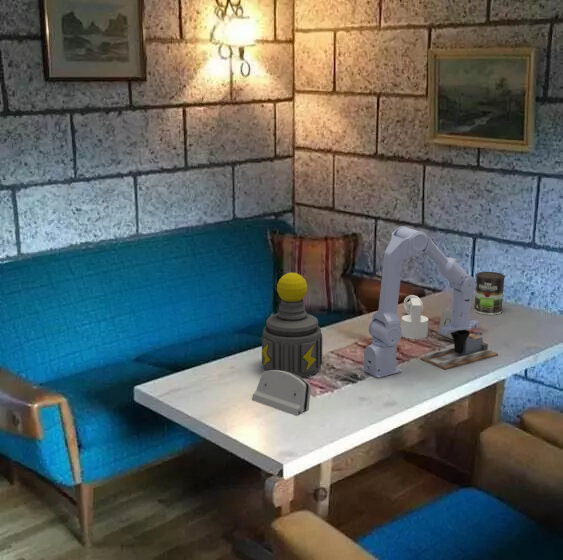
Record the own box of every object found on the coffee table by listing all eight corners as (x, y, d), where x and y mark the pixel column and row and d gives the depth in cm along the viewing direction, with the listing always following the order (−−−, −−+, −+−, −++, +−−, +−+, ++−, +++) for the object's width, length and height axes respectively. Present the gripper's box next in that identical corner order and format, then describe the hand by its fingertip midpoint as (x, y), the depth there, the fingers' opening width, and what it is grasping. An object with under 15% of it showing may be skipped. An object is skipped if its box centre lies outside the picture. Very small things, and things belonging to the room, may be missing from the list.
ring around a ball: (400, 315, 291) (401, 294, 289) (408, 311, 295) (409, 291, 293) (420, 319, 286) (421, 298, 284) (427, 315, 290) (428, 294, 288)
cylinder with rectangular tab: (400, 330, 274) (401, 297, 270) (426, 331, 273) (428, 298, 270) (401, 339, 265) (403, 305, 262) (428, 339, 264) (430, 305, 261)
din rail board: (444, 369, 238) (445, 358, 237) (420, 359, 246) (420, 348, 246) (498, 355, 249) (498, 344, 248) (472, 345, 258) (473, 335, 257)
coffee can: (499, 316, 289) (502, 279, 285) (471, 313, 293) (473, 276, 289) (503, 308, 298) (506, 273, 294) (476, 305, 302) (478, 270, 298)
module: (465, 356, 246) (466, 340, 245) (455, 352, 250) (456, 337, 249) (481, 352, 250) (482, 336, 248) (471, 348, 253) (472, 333, 252)
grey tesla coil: (283, 384, 227) (283, 284, 219) (249, 364, 242) (248, 270, 234) (335, 371, 237) (336, 275, 229) (299, 353, 252) (300, 262, 244)
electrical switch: (436, 334, 269) (440, 308, 268) (447, 333, 272) (450, 307, 271) (457, 342, 262) (460, 315, 260) (467, 340, 265) (471, 314, 263)
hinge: (250, 399, 217) (258, 364, 217) (261, 400, 220) (269, 365, 220) (297, 416, 206) (305, 379, 206) (307, 416, 210) (316, 379, 210)
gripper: (453, 318, 237) (450, 360, 240) (487, 310, 244) (484, 351, 248) (437, 312, 243) (434, 353, 246) (470, 305, 250) (468, 345, 253)
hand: (458, 352), depth 247 cm, fingers closed
